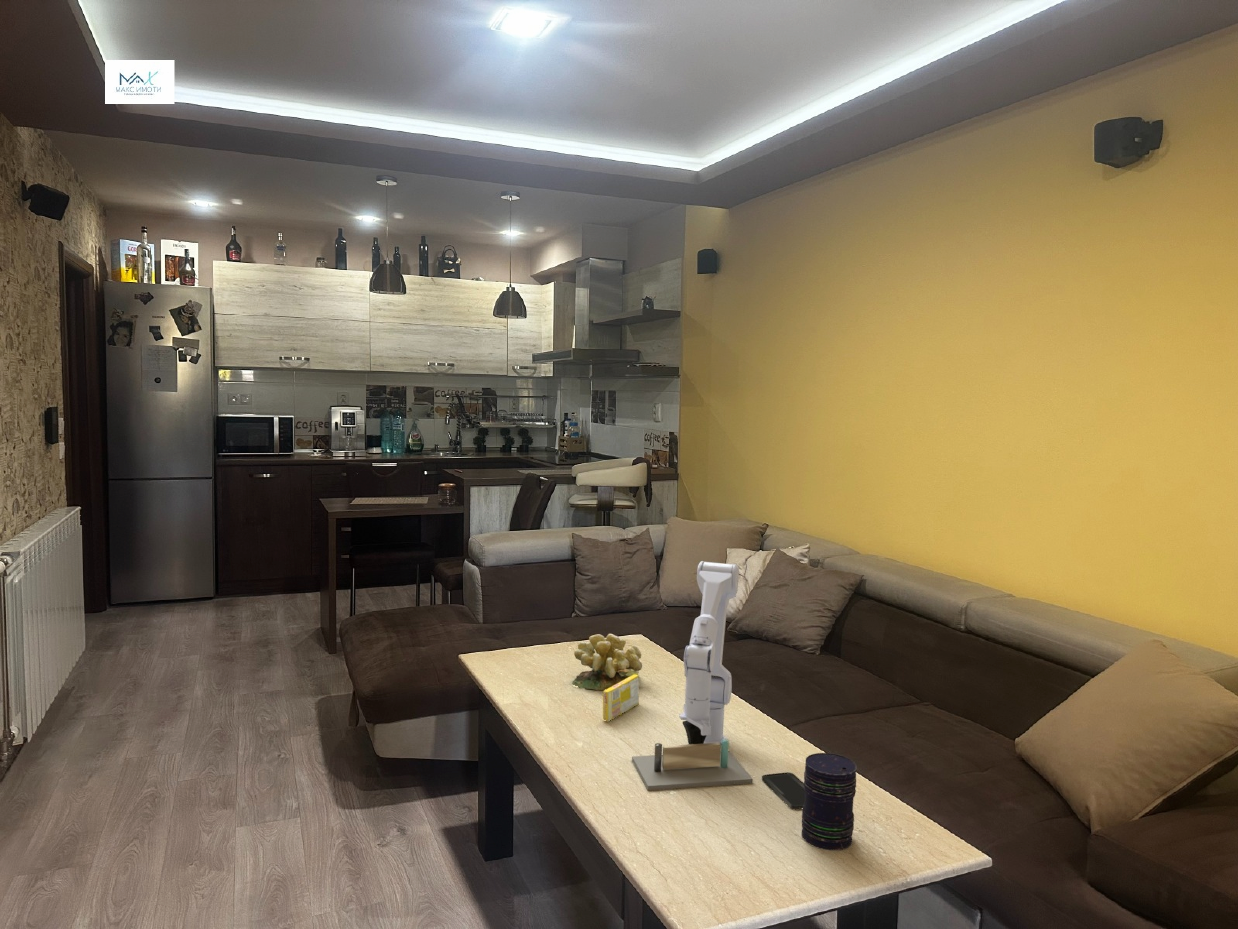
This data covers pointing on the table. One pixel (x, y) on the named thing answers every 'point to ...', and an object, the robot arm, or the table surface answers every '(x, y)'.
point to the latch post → (724, 753)
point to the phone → (787, 788)
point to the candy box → (620, 697)
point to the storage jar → (828, 801)
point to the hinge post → (658, 757)
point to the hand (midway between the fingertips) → (695, 753)
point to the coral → (606, 662)
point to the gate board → (690, 774)
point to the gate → (691, 756)
